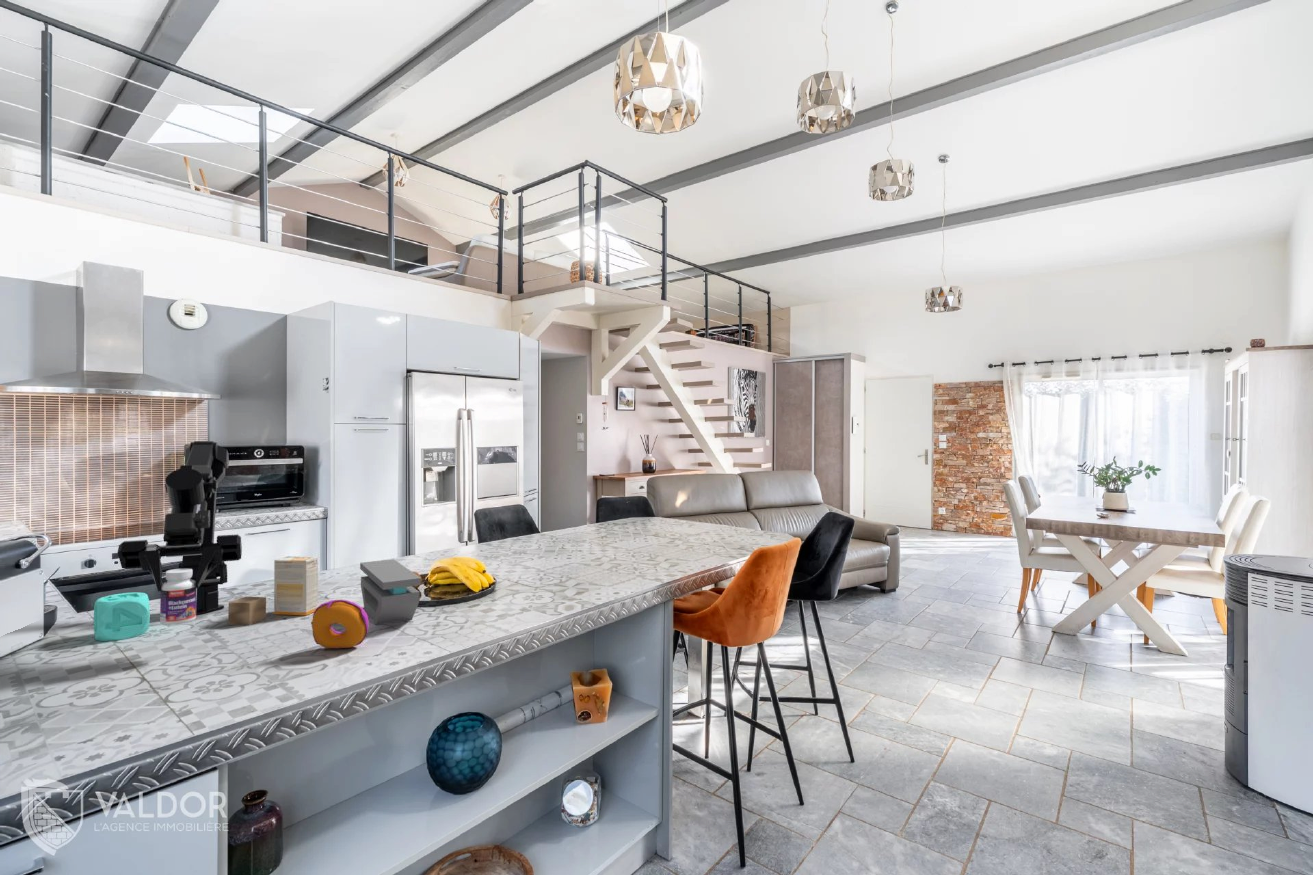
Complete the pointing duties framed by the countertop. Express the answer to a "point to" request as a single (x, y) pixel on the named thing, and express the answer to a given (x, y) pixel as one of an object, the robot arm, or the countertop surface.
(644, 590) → the countertop surface
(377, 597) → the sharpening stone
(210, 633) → the countertop surface
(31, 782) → the countertop surface
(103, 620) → the decorative dice
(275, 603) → the supplement box
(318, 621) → the donut
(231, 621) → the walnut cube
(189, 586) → the pill bottle
